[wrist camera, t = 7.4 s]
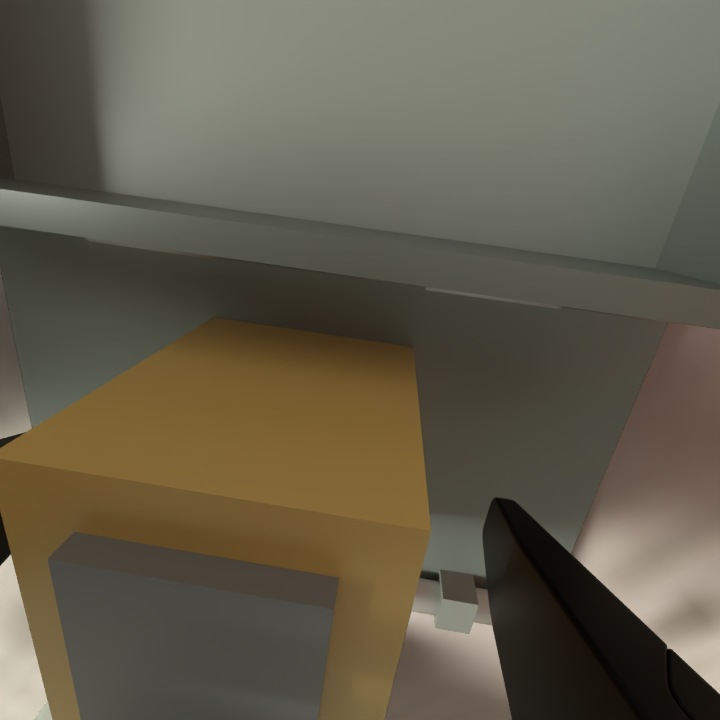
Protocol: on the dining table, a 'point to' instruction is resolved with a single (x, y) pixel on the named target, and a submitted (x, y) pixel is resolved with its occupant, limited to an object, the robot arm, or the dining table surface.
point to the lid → (373, 323)
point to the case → (382, 140)
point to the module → (225, 530)
